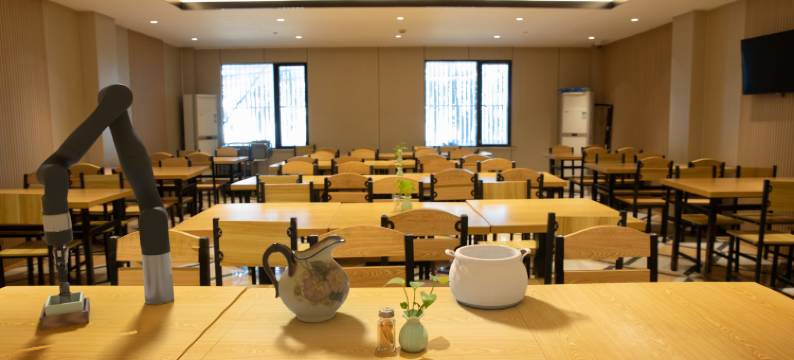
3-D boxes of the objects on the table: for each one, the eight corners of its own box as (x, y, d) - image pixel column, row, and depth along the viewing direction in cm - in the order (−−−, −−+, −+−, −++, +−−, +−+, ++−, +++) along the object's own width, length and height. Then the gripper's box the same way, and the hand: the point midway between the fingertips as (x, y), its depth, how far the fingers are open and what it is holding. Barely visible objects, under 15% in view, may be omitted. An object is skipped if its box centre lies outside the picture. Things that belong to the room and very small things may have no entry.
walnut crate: (90, 310, 201) (89, 297, 200) (89, 324, 187) (87, 311, 187) (45, 316, 195) (44, 303, 195) (40, 332, 182) (39, 318, 181)
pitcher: (365, 313, 193) (362, 237, 190) (307, 335, 176) (302, 252, 173) (320, 299, 208) (316, 228, 205) (262, 319, 191) (258, 241, 188)
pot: (520, 286, 220) (521, 239, 217) (540, 311, 193) (541, 258, 191) (441, 288, 219) (440, 241, 216) (450, 313, 192) (450, 261, 190)
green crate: (84, 310, 199) (83, 291, 198) (83, 321, 188) (81, 301, 187) (50, 315, 195) (48, 295, 194) (46, 327, 184) (44, 306, 183)
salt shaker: (81, 313, 193) (78, 277, 192) (67, 319, 188) (64, 281, 187) (65, 313, 195) (63, 276, 194) (51, 318, 189) (48, 281, 188)
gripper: (45, 225, 192) (51, 274, 194) (42, 233, 179) (48, 286, 181) (72, 222, 195) (77, 271, 197) (70, 230, 182) (76, 282, 185)
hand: (63, 278), depth 189 cm, fingers open, 8 cm apart
